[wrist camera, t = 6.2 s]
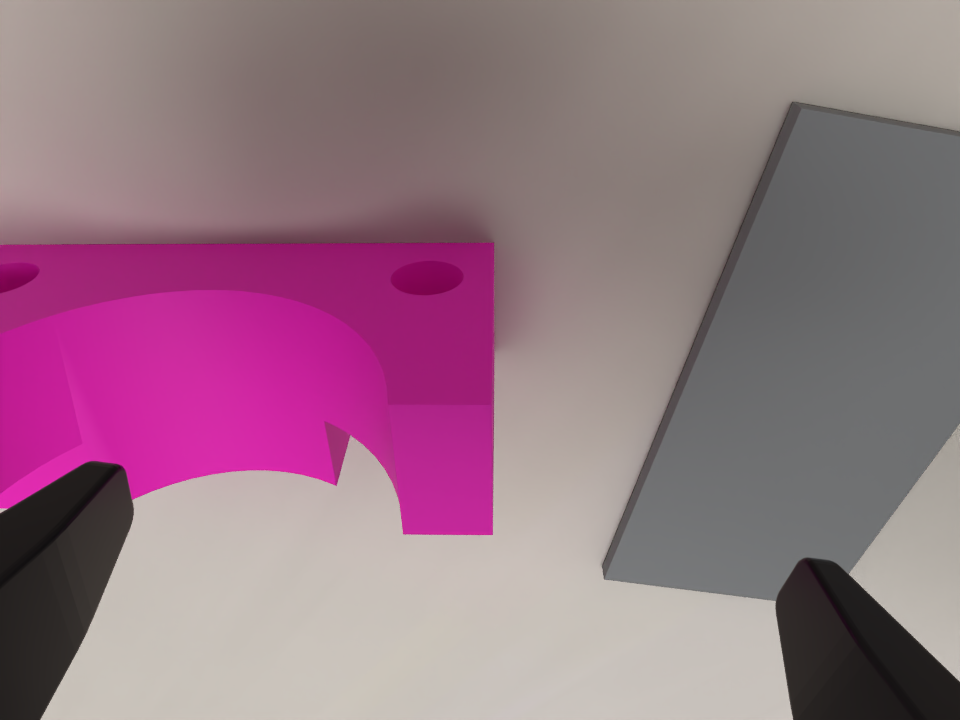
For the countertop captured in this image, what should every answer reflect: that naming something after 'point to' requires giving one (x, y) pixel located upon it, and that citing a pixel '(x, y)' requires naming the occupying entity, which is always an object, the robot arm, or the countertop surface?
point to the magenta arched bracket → (253, 366)
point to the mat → (810, 365)
